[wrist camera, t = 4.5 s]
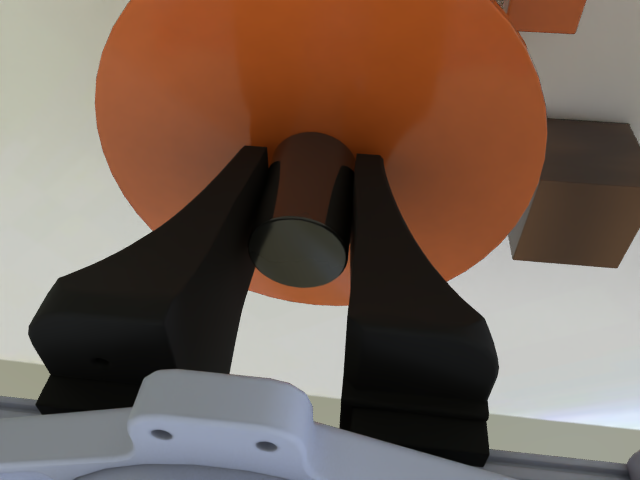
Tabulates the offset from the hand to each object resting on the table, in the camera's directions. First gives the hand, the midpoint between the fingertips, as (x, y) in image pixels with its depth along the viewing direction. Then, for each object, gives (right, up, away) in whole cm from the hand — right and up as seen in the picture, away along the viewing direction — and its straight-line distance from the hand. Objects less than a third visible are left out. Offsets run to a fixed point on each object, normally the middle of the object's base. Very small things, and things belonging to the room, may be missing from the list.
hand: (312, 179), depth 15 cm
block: (+11, +2, +11) cm, 16 cm away
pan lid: (0, +1, +1) cm, 1 cm away
